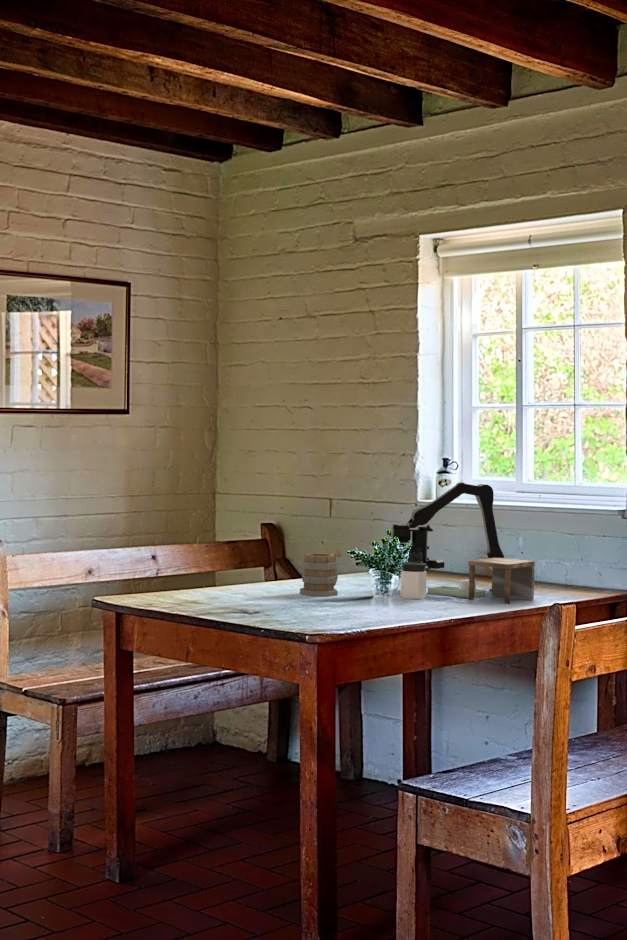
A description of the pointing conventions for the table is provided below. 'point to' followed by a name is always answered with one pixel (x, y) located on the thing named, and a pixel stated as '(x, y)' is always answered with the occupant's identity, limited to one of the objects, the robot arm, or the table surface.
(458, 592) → the tray
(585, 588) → the table surface
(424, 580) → the jar
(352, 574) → the table surface
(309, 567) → the tankard
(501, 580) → the stand
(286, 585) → the table surface
